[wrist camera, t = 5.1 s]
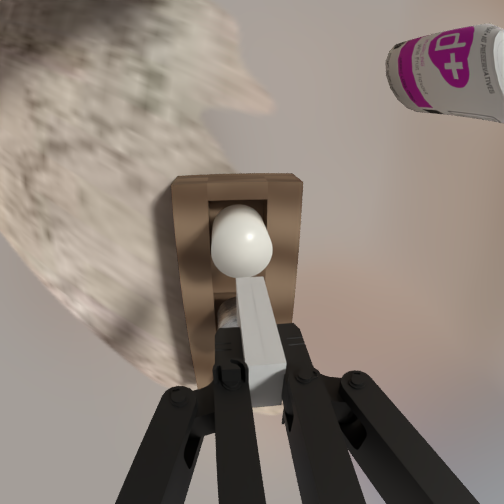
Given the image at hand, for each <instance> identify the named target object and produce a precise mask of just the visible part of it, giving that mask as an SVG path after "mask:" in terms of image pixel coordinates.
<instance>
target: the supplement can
mask: <svg viewBox="0 0 504 504" xmlns="http://www.w3.org/2000/svg"><path fill="white" fill-rule="evenodd" d="M386 76H387V79H388V82H389V85H390V88H391V90H392V91H393V93H394V94H395V96H396V97H397V99H398V100H399V101H400V102H401V103H402V104H404V105H405V106H406V107H407V108H409V109H411V110H414V111H416V112H425V113H437V114H447V115H455V116H463V117H470V118H476V119H482V120H488V121H494V122H499V123H504V29H502V28H500V27H498V26H495V25H493V24H490V23H488V24H481V25H475V26H469V27H463V28H458V29H453V30H449V31H444V32H439V33H435V34H431V35H427V36H423V37H420V38H416V39H412V40H408V41H405V42H402V43H399V44H396V45H395V46H394V47H393V48H392V49H391V50H390V51H389V54H388V57H387V60H386Z"/></svg>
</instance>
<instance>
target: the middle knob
mask: <svg viewBox="0 0 504 504" xmlns="http://www.w3.org/2000/svg"><path fill="white" fill-rule="evenodd" d="M229 327H238V324H237V304H236V297H232V298H230V299H228V300H226V301H225V302H223V303H222V304H221V306H220V307H219V309H218V329H219V328H229Z"/></svg>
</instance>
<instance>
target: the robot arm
mask: <svg viewBox="0 0 504 504" xmlns="http://www.w3.org/2000/svg"><path fill="white" fill-rule="evenodd" d="M236 304H237V324H238V327H229V328H219V329H218V331H217V332H216V334H215V364H214V366H213V369H212V372H213V381H212V382H211V383H210V384H209V385H207V386H206V387H204V388H201V389H198V390H194V391H192V390H191V389H190V388H187V387H184V386H176V387H172V388H170V389H168V390H167V391H166V392H165V393H164V394H163V395H162V398H161V400H160V402H159V404H158V406H157V409H156V411H155V413H154V415H153V418H152V420H151V422H150V424H149V427H148V429H147V431H146V433H145V436H144V438H143V440H142V442H141V445H140V447H139V449H138V451H137V454H136V456H135V459H134V461H133V463H132V465H131V468H130V470H129V472H128V474H127V477H126V479H125V481H124V484H123V486H122V488H121V491H120V493H119V495H118V498H117V500H116V503H115V504H184V501H185V498H186V495H187V492H188V488H189V485H190V482H191V478H192V475H193V472H194V468H195V465H196V462H197V458H198V455H199V452H200V448H201V445H202V442H203V438H204V436H205V435H209V434H212V433H215V436H216V462H217V481H218V498H219V504H266V501H265V493H264V487H263V481H262V474H261V467H260V460H259V453H258V446H257V439H256V432H255V425H254V418H253V410H252V407H265V406H275V405H281V403H282V401H283V405H284V410H283V418H282V424H284V423H285V426H286V431H287V435H288V440H289V445H290V449H291V454H292V459H293V463H294V468H295V472H296V477H297V482H298V486H299V491H300V496H301V500H302V504H366V502H365V499H364V496H363V493H362V490H361V487H360V484H359V481H358V478H357V475H356V473H355V470H354V466H353V464H352V461H351V458H350V455H349V452H348V450H349V451H350V453H351V454H352V456H353V457H354V459H355V460H356V461H357V463H358V464H359V466H360V467H361V469H362V470H363V472H364V473H365V474H366V476H367V477H368V479H369V480H370V482H371V483H372V484H373V486H374V487H375V489H376V490H377V491H378V493H379V494H380V496H381V497H382V498H383V500H384V501H385V503H386V504H480V503H479V502H478V501H477V500H476V499H475V498H474V496H473V495H472V494H471V493H470V492H469V490H468V489H467V488H466V487H465V486H464V485H463V483H462V482H461V481H460V480H459V479H458V478H457V476H456V475H455V474H454V473H453V472H452V471H451V470H450V468H449V467H448V466H447V465H446V464H445V462H444V461H443V460H442V459H441V458H440V457H439V456H438V454H437V453H436V452H435V451H434V450H433V449H432V447H431V446H430V445H429V444H428V443H427V442H426V440H425V439H424V438H423V437H422V436H421V435H420V434H419V433H418V431H417V430H416V429H415V428H414V427H413V425H412V424H411V423H410V422H409V421H408V420H407V419H406V417H405V416H404V415H403V414H402V413H401V412H400V411H399V410H398V408H397V407H396V406H395V405H394V404H393V402H392V401H391V400H390V399H389V398H388V397H387V396H386V394H385V393H384V392H383V391H382V390H381V389H380V388H379V386H378V385H377V384H376V383H375V382H374V381H373V380H372V378H371V377H370V376H369V375H367V374H366V373H364V372H361V371H349V372H347V373H346V374H344V375H343V377H342V378H336V377H328V376H325V375H322V374H320V372H319V371H318V370H317V369H315V368H314V367H313V365H312V362H311V359H310V357H309V354H308V351H307V348H306V345H305V344H304V340H303V338H302V334H301V331H300V329H299V328H298V327H297V326H296V325H295V324H294V323H284V324H276V322H275V318H274V314H273V311H272V307H271V303H270V300H269V296H268V292H267V288H266V285H265V281H264V277H242V278H236Z"/></svg>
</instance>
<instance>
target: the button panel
mask: <svg viewBox="0 0 504 504" xmlns="http://www.w3.org/2000/svg"><path fill="white" fill-rule="evenodd" d="M171 193H172V206H173V218H174V229H175V239H176V249H177V258H178V267H179V275H180V283H181V290H182V298H183V305H184V312H185V319H186V325H187V331H188V338H189V344H190V349H191V355H192V361H193V366H194V372H195V377H196V382H197V387H198V389H201V388H204V387H206V386H207V385H209V384H210V383H211V382H212V381H213V372H212V369H213V366H214V364H215V334H216V332H217V331H218V309H219V307H220V306H221V304H222V303H223V302H225V301H226V300H228V299H230V298H232V297H236V278H233V277H230V276H227V275H225V274H224V273H222V272H221V271H220V270H219V269H218V268H217V267H216V266H215V264H214V262H213V260H212V256H211V244H212V227H213V222H214V220H215V218H216V216H217V215H218V213H219V212H220V211H221V210H223V209H224V208H226V207H228V206H231V205H236V204H242V205H247V206H249V207H251V208H253V209H255V210H256V211H257V212H258V213H259V214H260V216H261V218H262V220H263V222H264V225H265V227H266V230H267V232H268V235H269V237H270V240H271V242H272V249H273V251H272V257H271V260H270V262H269V264H268V265H267V266H266V268H265V269H264V270H263V271H261V272H260V273H258V274H257V275H255V276H252V277H264V281H265V285H266V288H267V292H268V296H269V300H270V303H271V307H272V311H273V314H274V318H275V322H276V324H284V323H292V316H293V307H294V297H295V286H296V276H297V264H298V252H299V239H300V225H301V209H302V193H303V182H302V181H301V180H300V179H299V178H297V177H296V176H295V175H294V174H292V173H291V174H289V173H286V174H285V173H248V174H210V175H188V176H177V178H176V179H175V180H174V182H173V183H172V184H171Z"/></svg>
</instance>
